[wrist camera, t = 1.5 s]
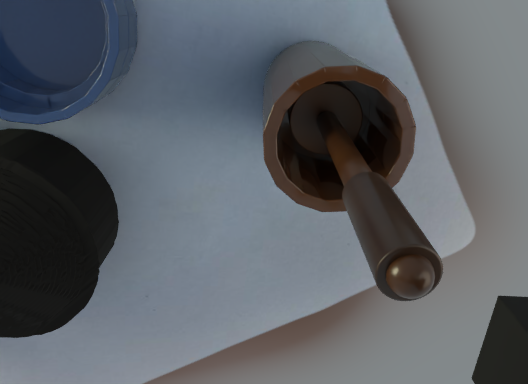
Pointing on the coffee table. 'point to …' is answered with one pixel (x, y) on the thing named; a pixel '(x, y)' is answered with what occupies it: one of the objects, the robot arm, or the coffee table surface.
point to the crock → (367, 141)
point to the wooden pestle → (366, 194)
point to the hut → (49, 231)
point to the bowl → (62, 55)
